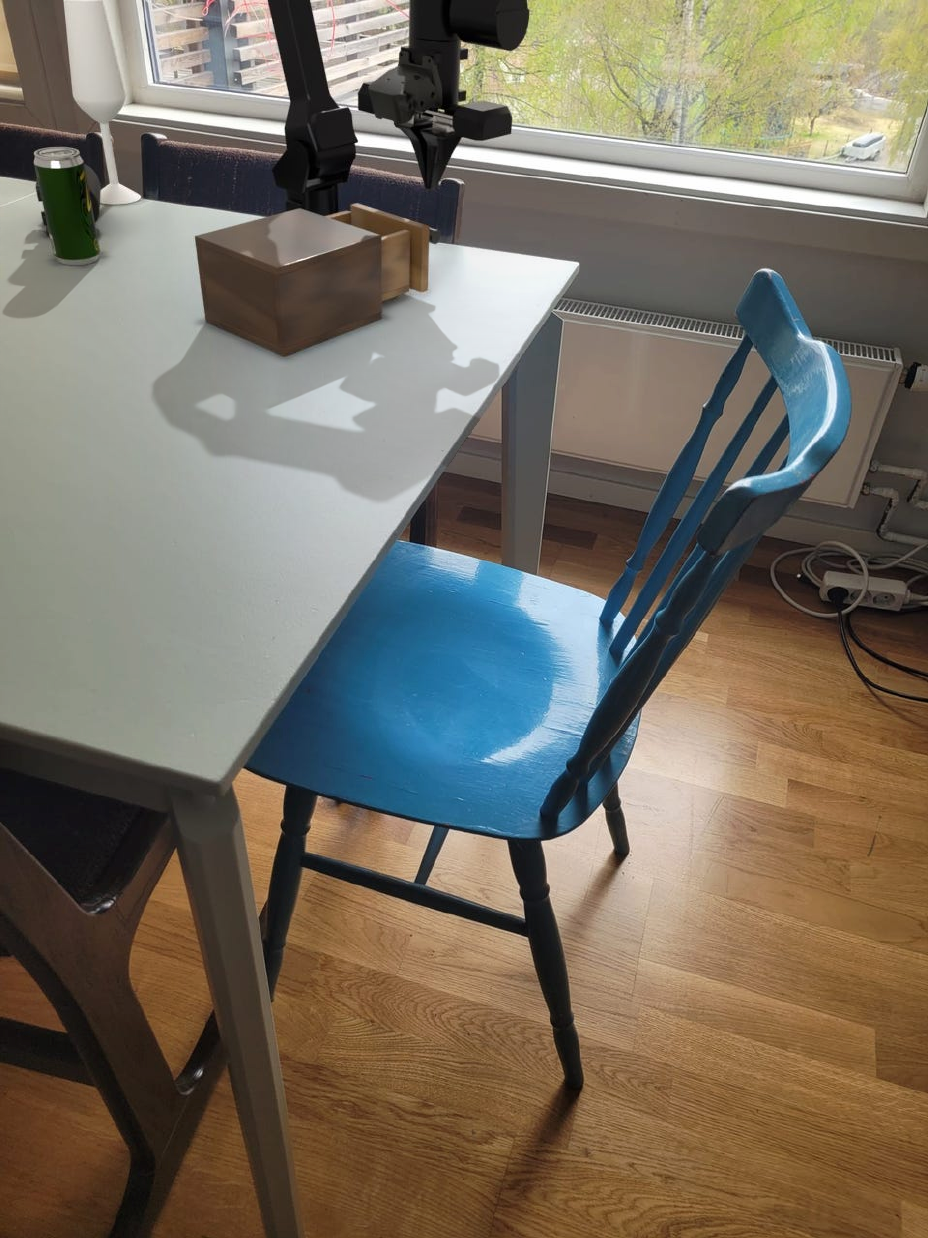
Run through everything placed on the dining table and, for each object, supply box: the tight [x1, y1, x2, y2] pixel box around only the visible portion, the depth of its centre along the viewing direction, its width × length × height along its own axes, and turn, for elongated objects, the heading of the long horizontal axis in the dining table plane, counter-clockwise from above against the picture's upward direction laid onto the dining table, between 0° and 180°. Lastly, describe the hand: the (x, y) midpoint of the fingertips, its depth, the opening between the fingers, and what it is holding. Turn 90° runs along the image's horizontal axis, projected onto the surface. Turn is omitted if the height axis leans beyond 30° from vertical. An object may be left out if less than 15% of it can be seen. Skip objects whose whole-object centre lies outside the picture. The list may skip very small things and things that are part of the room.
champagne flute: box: [63, 0, 142, 206], centre depth 129 cm, size 7×7×24 cm
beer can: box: [33, 146, 101, 266], centre depth 113 cm, size 5×5×12 cm
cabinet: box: [194, 208, 383, 357], centre depth 103 cm, size 15×13×9 cm
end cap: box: [35, 163, 102, 238], centre depth 124 cm, size 10×7×7 cm
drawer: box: [325, 202, 442, 302], centre depth 110 cm, size 18×11×7 cm, turn 140°
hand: (430, 189), depth 114 cm, fingers closed
